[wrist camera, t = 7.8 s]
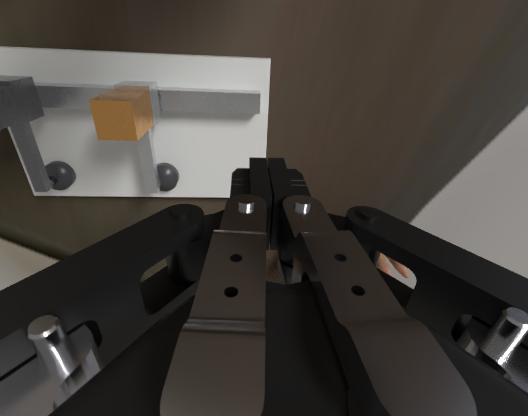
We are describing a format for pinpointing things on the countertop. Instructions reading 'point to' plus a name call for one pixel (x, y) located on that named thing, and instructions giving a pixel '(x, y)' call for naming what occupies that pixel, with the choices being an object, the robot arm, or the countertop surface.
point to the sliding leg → (131, 121)
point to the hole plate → (164, 133)
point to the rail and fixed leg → (77, 96)
